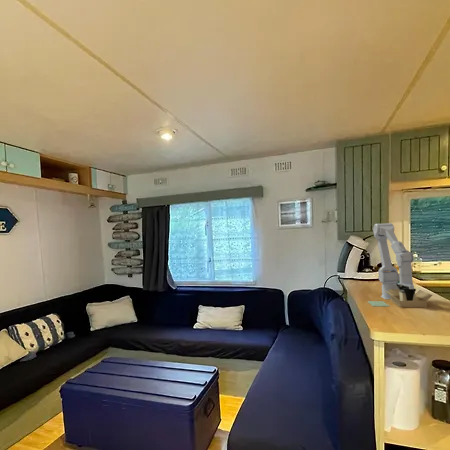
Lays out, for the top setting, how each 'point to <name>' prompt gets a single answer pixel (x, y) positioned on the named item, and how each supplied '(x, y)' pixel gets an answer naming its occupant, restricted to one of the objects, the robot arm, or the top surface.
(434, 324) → the top surface
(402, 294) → the block
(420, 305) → the carton
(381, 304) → the pad
